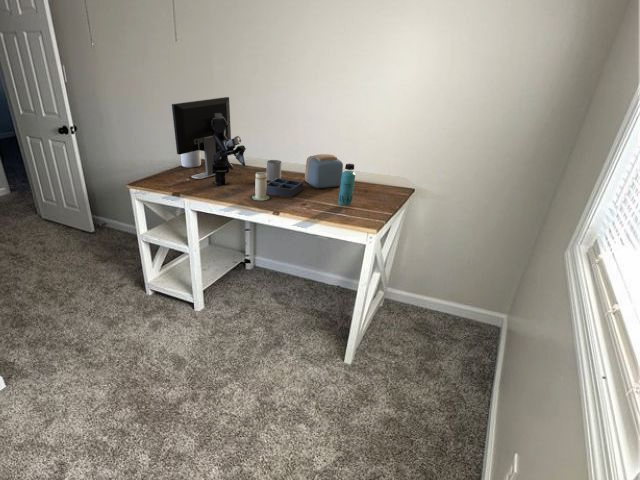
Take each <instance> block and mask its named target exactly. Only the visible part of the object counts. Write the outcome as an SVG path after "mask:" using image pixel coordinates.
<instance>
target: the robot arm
mask: <svg viewBox="0 0 640 480" xmlns="http://www.w3.org/2000/svg"><path fill="white" fill-rule="evenodd" d="M210 123H211V130H212V134H213V138H214V140H215V147H216V154H215V155H214V158H213V161H214V162H212V169H213V173H215V175H214V178H215V179H214V181H212V183H213V184H214V185H216V186H224V185H228V184H229V182H228V181H226V174H228V173H230V171H233V170H234V167H233V165H232V164H231V162H230V160H229V156H232V155H233V156H234V157H235V159H236V160H237V161H238V162H239V163H240V164H241V165H242V166H243V167H246V161H245V157H244V156H245V155H244V154H245V152H246V149H247V148H246V146H245V145H243V144H241V143H242V139H241V137H240V136H239V135H237V136H234V138H231V140H230V139H227V137H226V136H225V129H227V127H228V123H227V121H226V120H225V118H224V117H223V116H222V113H214V114H213V117H212V118H211V120H210ZM240 144H241V145H240Z"/></svg>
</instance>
